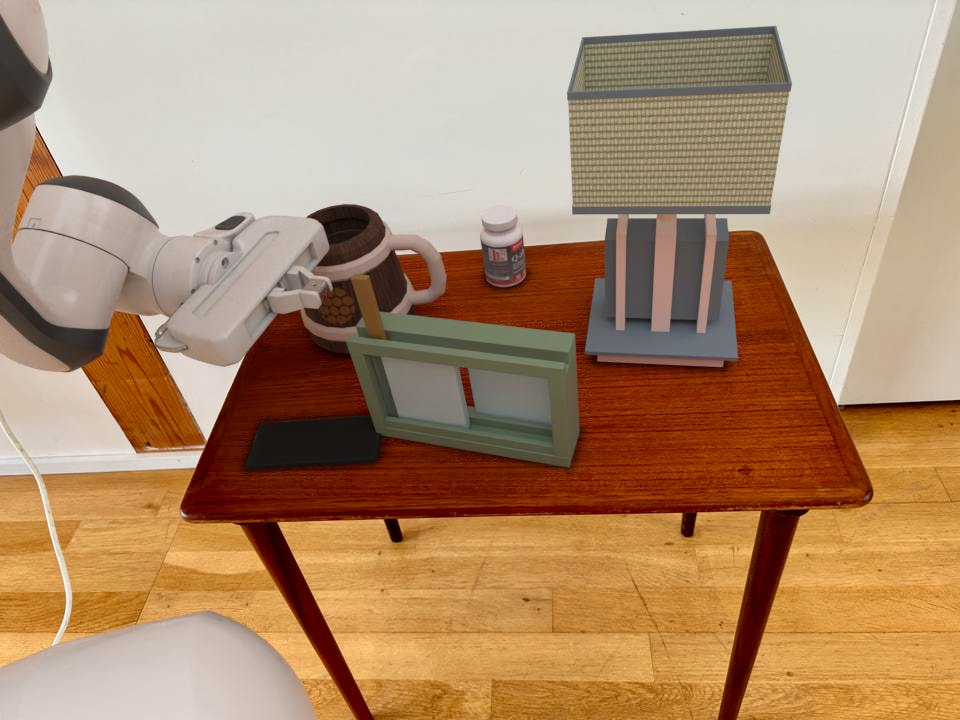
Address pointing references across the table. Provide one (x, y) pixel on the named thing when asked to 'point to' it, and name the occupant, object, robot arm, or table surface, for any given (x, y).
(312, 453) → the smartphone
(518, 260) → the pill bottle
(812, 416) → the table surface
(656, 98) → the desk lamp
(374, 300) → the window pane
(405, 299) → the mug
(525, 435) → the window frame
